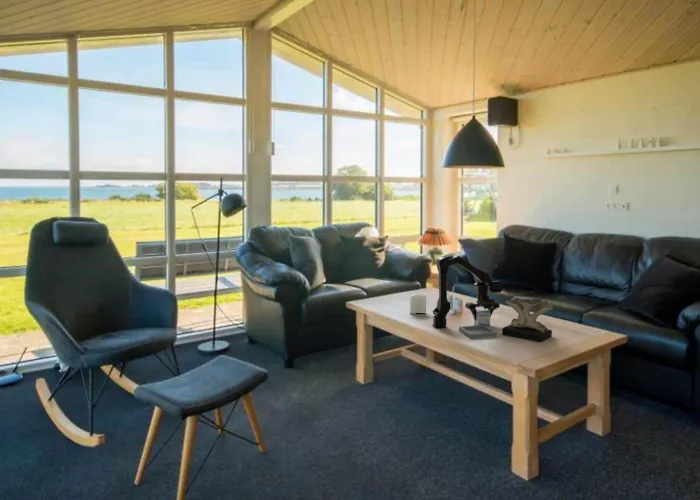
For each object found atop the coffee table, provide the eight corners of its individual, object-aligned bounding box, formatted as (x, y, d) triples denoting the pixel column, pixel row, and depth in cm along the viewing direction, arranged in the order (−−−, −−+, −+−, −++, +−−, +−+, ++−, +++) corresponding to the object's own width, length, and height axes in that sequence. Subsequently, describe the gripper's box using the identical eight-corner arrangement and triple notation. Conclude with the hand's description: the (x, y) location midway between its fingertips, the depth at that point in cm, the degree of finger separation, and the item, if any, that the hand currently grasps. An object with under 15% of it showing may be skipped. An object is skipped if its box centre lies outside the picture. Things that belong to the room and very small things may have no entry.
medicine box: (477, 326, 292) (478, 311, 291) (473, 324, 296) (474, 309, 295) (490, 325, 294) (490, 310, 293) (486, 323, 298) (486, 308, 297)
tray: (470, 338, 269) (470, 334, 269) (458, 330, 284) (458, 326, 283) (496, 336, 272) (496, 332, 272) (484, 329, 287) (484, 324, 286)
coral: (558, 338, 268) (560, 298, 265) (541, 347, 254) (542, 304, 251) (514, 329, 286) (515, 291, 283) (495, 337, 271) (496, 297, 269)
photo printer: (425, 312, 326) (425, 293, 324) (426, 313, 321) (427, 294, 320) (409, 313, 324) (409, 293, 323) (410, 314, 320) (411, 295, 318)
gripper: (473, 297, 283) (472, 324, 285) (504, 295, 286) (503, 322, 288) (465, 292, 294) (464, 319, 296) (495, 291, 297) (494, 317, 299)
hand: (482, 319), depth 294 cm, fingers closed on medicine box, 8 cm apart
